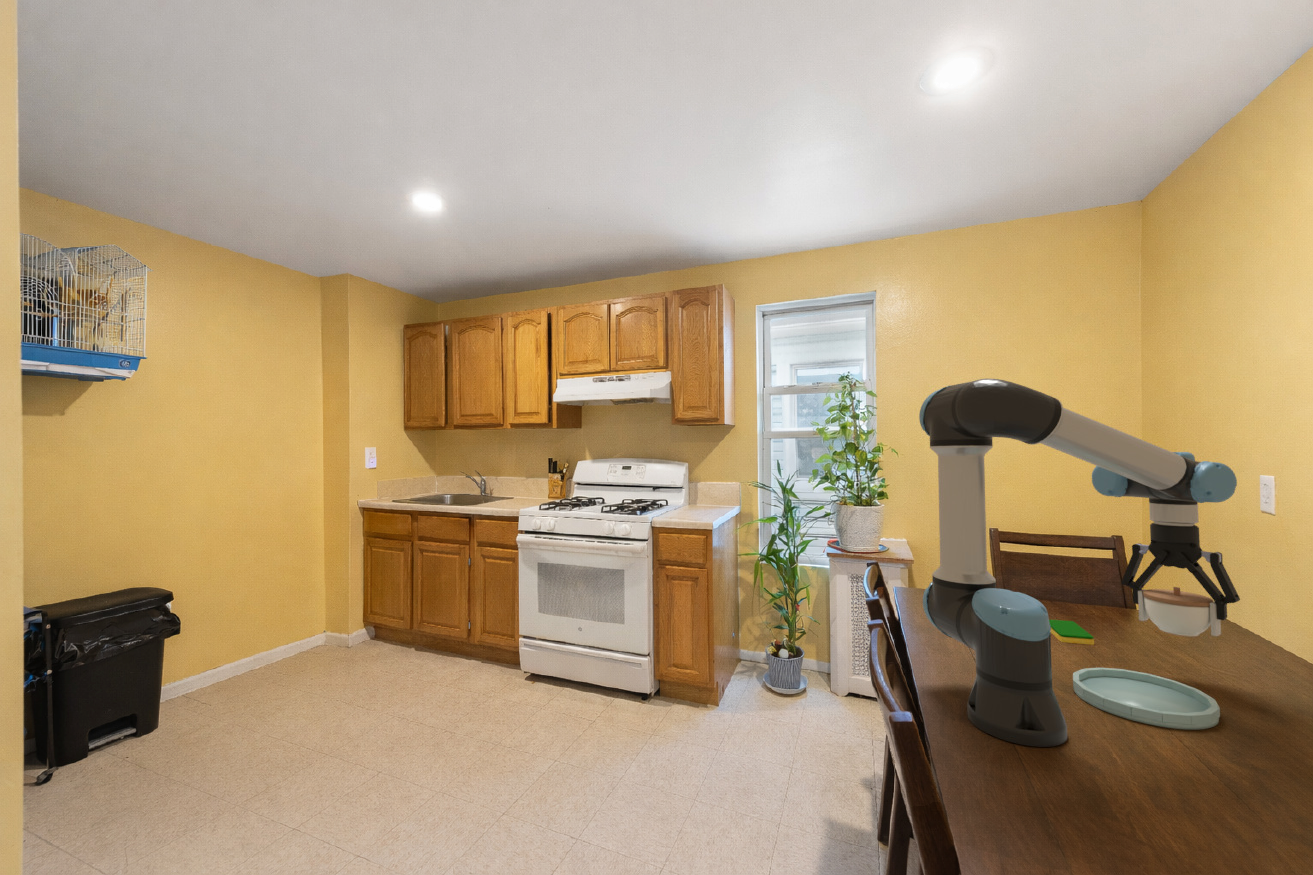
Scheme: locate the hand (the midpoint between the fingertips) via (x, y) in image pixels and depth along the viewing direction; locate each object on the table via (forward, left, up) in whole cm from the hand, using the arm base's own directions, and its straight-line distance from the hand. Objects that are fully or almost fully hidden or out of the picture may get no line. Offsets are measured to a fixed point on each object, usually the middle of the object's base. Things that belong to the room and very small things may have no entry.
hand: (1178, 627), depth 112 cm
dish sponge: (+14, +27, -12) cm, 33 cm away
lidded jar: (0, 0, -1) cm, 1 cm away
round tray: (-18, +1, -12) cm, 21 cm away
